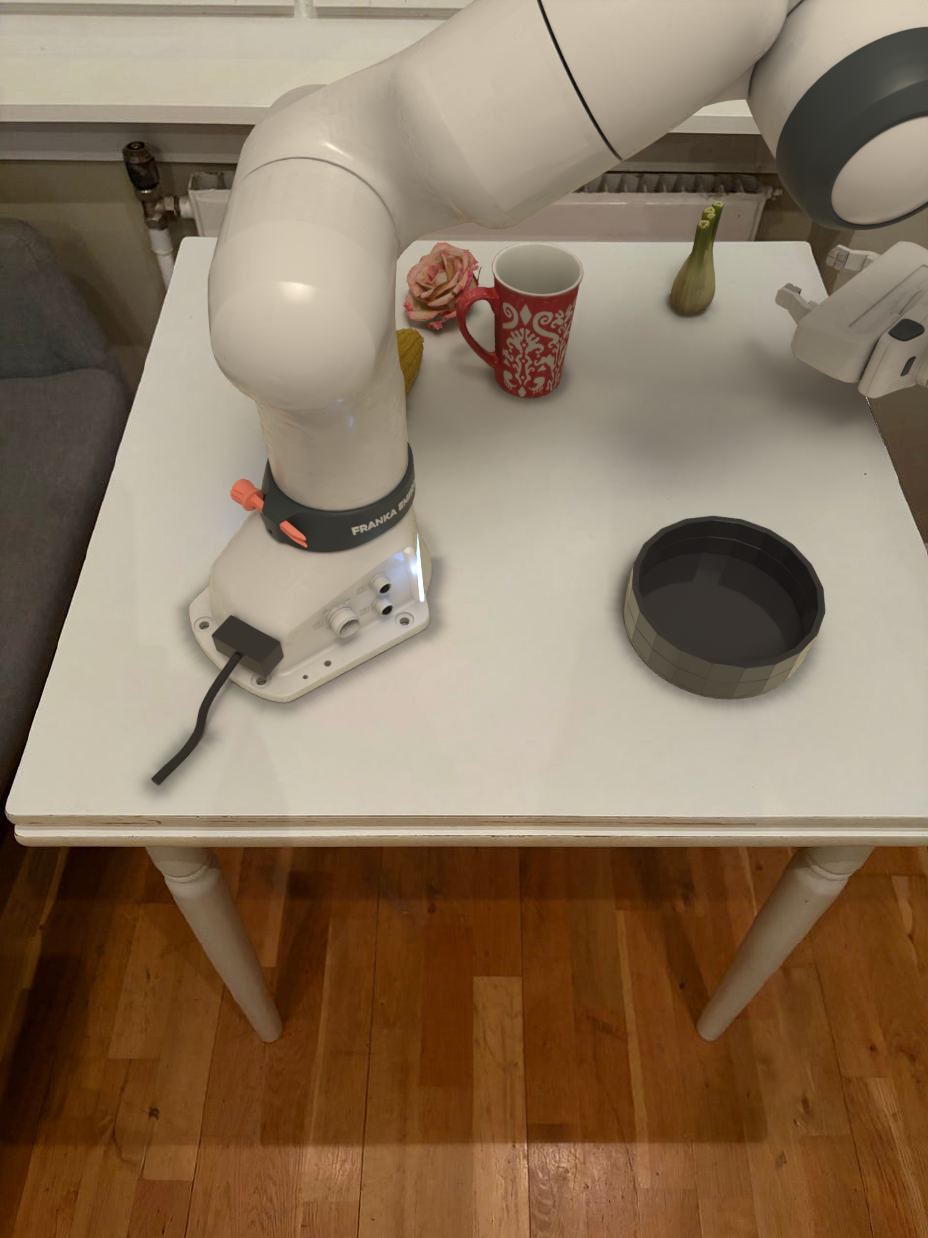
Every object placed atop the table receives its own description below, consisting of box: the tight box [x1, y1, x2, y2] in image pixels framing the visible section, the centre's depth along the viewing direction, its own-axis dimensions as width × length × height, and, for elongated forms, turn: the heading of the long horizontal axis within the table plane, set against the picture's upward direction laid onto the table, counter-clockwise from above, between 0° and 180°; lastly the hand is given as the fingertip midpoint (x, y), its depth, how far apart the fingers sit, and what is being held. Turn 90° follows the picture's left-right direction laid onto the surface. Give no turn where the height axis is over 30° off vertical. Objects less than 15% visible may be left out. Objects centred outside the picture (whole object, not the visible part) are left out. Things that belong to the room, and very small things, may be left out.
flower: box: [402, 241, 482, 330], centre depth 107 cm, size 10×9×8 cm
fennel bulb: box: [668, 200, 725, 315], centre depth 106 cm, size 6×5×12 cm
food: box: [396, 327, 425, 400], centre depth 97 cm, size 21×6×6 cm, turn 165°
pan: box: [623, 515, 827, 700], centre depth 83 cm, size 16×16×5 cm
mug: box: [455, 241, 584, 399], centre depth 98 cm, size 13×9×14 cm
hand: (806, 272), depth 97 cm, fingers open, 8 cm apart
